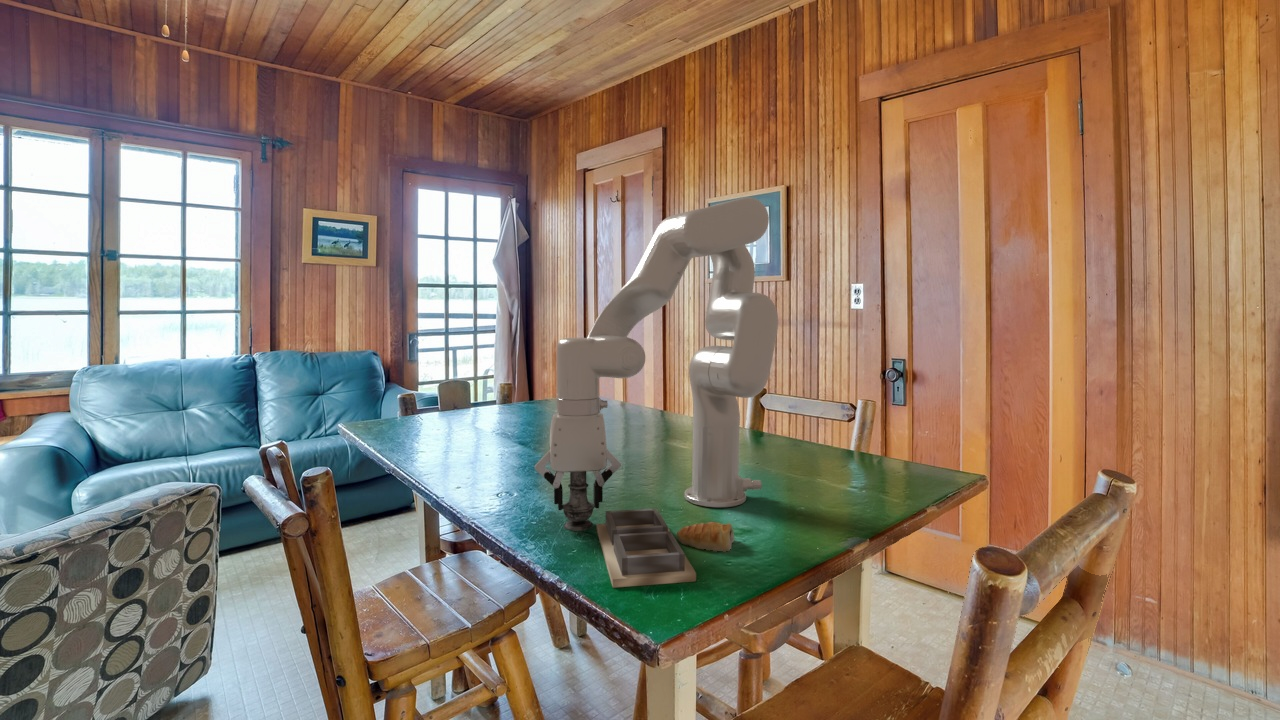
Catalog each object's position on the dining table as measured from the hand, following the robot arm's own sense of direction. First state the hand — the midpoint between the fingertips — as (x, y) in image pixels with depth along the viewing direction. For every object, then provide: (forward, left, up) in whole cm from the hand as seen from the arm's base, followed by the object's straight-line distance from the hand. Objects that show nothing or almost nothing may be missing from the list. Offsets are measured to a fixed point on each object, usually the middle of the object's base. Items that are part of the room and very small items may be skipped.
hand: (578, 505), depth 106 cm
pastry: (-21, +12, -4) cm, 24 cm away
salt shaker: (0, 0, -4) cm, 4 cm away
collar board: (-9, +14, -4) cm, 17 cm away
